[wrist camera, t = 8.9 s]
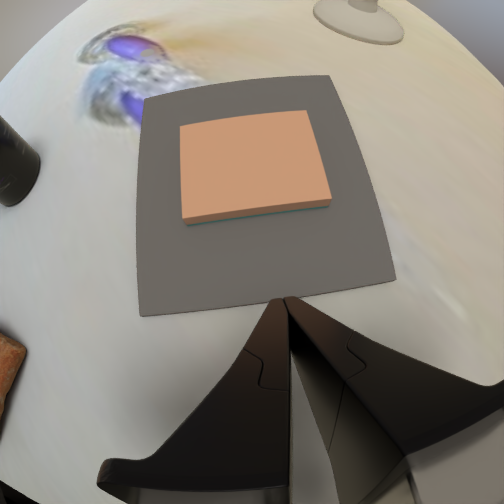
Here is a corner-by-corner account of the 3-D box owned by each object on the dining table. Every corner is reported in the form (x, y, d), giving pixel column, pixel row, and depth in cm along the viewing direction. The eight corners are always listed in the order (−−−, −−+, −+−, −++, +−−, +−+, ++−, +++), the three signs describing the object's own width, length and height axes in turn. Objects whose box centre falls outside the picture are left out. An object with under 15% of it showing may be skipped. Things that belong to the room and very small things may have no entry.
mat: (393, 280, 20) (396, 279, 19) (142, 316, 20) (139, 316, 19) (328, 78, 25) (329, 75, 24) (145, 102, 25) (144, 98, 24)
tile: (331, 198, 19) (306, 110, 21) (182, 218, 19) (179, 126, 21) (327, 207, 21) (304, 121, 23) (187, 226, 21) (184, 137, 23)
